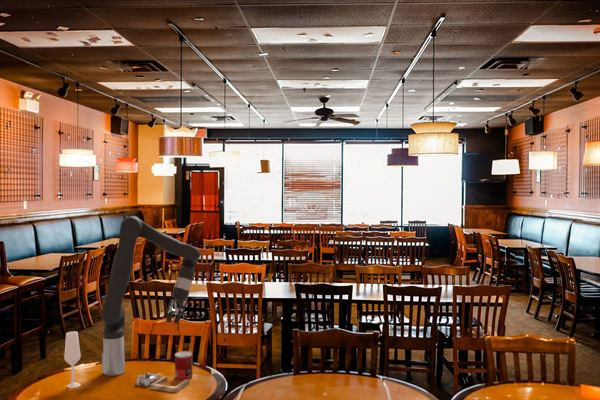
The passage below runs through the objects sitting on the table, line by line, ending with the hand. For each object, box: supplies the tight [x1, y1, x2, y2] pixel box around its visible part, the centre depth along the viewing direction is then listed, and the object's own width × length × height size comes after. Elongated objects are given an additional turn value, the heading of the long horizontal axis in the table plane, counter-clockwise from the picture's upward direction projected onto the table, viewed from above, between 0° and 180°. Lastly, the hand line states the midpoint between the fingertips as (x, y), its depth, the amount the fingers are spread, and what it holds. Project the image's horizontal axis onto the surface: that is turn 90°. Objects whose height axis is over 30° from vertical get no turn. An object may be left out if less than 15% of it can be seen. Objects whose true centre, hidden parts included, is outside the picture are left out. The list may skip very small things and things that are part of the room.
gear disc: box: [136, 372, 160, 388], centre depth 243 cm, size 10×10×4 cm
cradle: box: [149, 375, 190, 393], centre depth 238 cm, size 13×10×2 cm
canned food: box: [174, 350, 193, 381], centre depth 248 cm, size 8×8×11 cm
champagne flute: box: [63, 330, 82, 389], centre depth 238 cm, size 7×7×24 cm
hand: (171, 322), depth 249 cm, fingers open, 8 cm apart
